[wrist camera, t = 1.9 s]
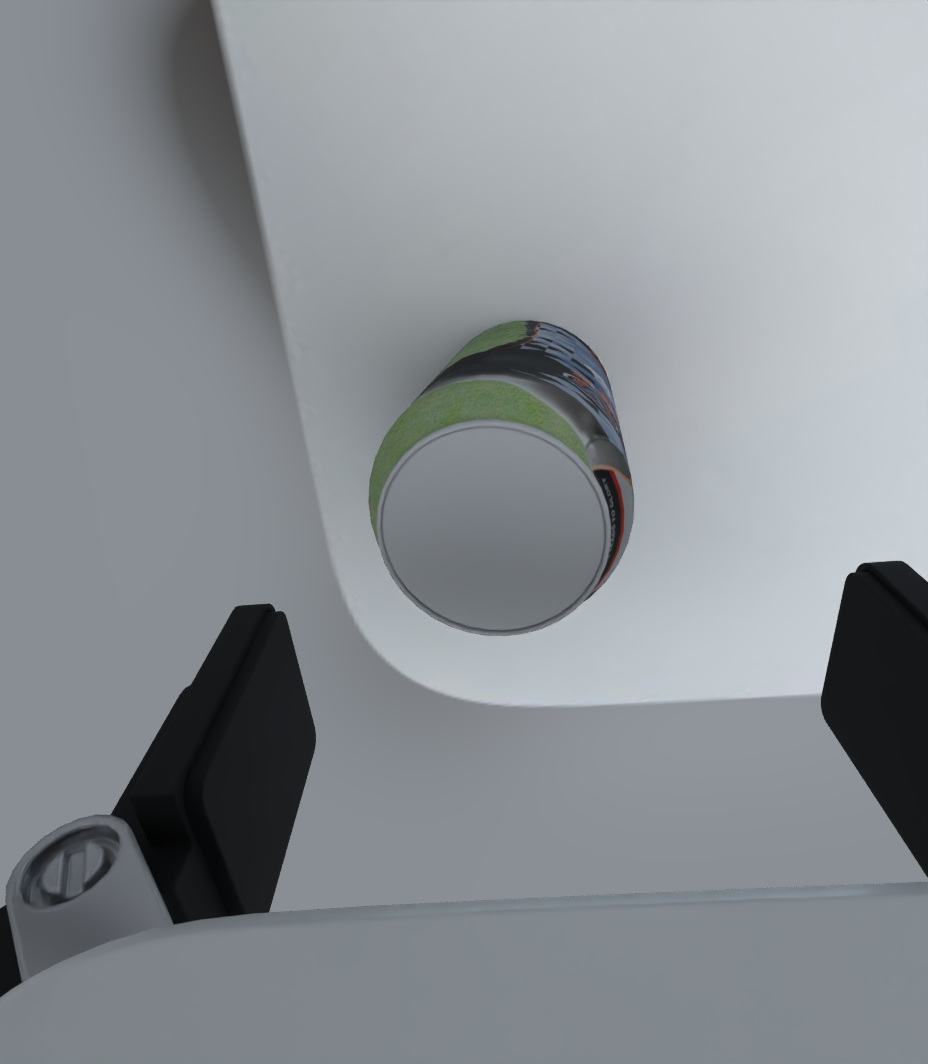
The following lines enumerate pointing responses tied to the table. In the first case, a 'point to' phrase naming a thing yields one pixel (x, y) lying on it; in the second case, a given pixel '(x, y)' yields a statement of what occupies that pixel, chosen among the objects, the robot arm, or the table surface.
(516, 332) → the beverage can
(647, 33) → the table surface
